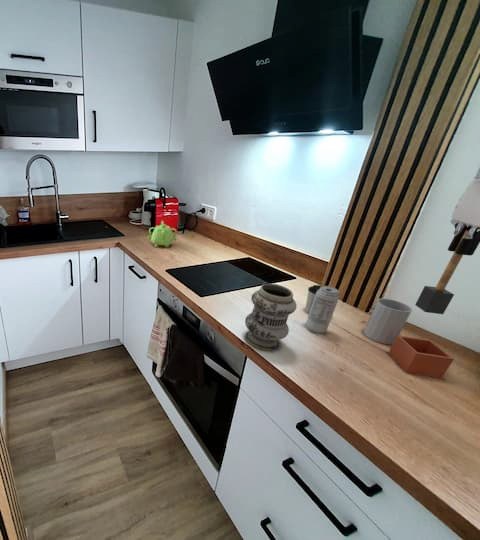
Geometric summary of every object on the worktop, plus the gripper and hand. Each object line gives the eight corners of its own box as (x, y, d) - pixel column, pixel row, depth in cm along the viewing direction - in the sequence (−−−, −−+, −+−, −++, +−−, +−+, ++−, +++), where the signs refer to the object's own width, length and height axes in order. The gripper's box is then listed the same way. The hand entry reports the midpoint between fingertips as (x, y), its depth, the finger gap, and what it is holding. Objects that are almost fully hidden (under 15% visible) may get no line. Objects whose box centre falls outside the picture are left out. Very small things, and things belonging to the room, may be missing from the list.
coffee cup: (315, 318, 102) (324, 294, 98) (297, 309, 107) (304, 285, 103) (327, 314, 104) (336, 290, 100) (309, 305, 110) (316, 282, 106)
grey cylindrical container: (385, 331, 95) (401, 300, 91) (401, 346, 88) (418, 313, 83) (358, 327, 97) (372, 296, 92) (371, 342, 90) (386, 309, 85)
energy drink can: (329, 330, 95) (344, 290, 89) (320, 336, 92) (335, 295, 86) (310, 321, 100) (323, 283, 94) (301, 326, 97) (314, 287, 91)
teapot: (143, 242, 177) (144, 222, 172) (160, 239, 185) (162, 220, 179) (160, 250, 165) (162, 228, 160) (178, 246, 172) (180, 225, 167)
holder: (420, 358, 83) (430, 340, 81) (442, 378, 76) (454, 359, 74) (387, 353, 85) (397, 335, 83) (406, 372, 78) (416, 353, 75)
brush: (432, 307, 79) (473, 229, 70) (443, 314, 75) (488, 234, 66) (414, 304, 80) (453, 228, 71) (425, 312, 76) (467, 232, 67)
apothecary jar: (264, 357, 82) (280, 303, 74) (233, 334, 91) (244, 284, 84) (292, 347, 86) (310, 294, 79) (259, 325, 96) (272, 277, 89)
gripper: (563, 179, 56) (509, 266, 63) (489, 173, 70) (452, 245, 77) (514, 177, 57) (467, 262, 65) (452, 172, 71) (419, 242, 79)
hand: (459, 252), depth 71 cm, fingers closed on brush
